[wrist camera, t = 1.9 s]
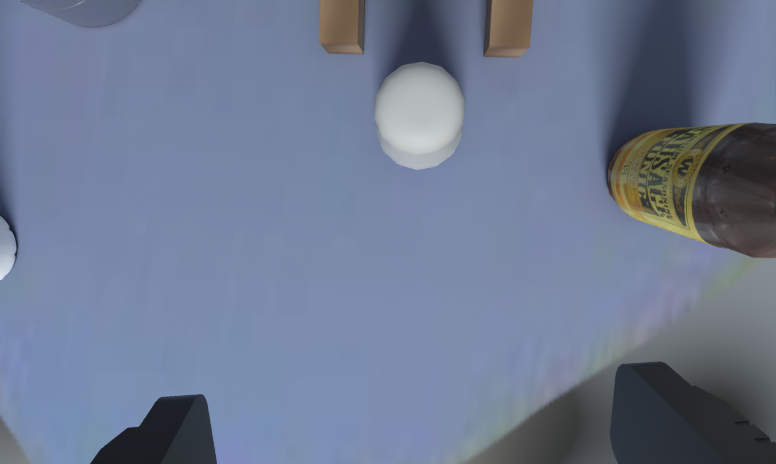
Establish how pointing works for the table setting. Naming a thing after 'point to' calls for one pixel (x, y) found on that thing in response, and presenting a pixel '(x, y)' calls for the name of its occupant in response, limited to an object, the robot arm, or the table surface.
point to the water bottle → (6, 248)
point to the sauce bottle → (703, 184)
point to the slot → (502, 27)
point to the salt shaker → (419, 115)
